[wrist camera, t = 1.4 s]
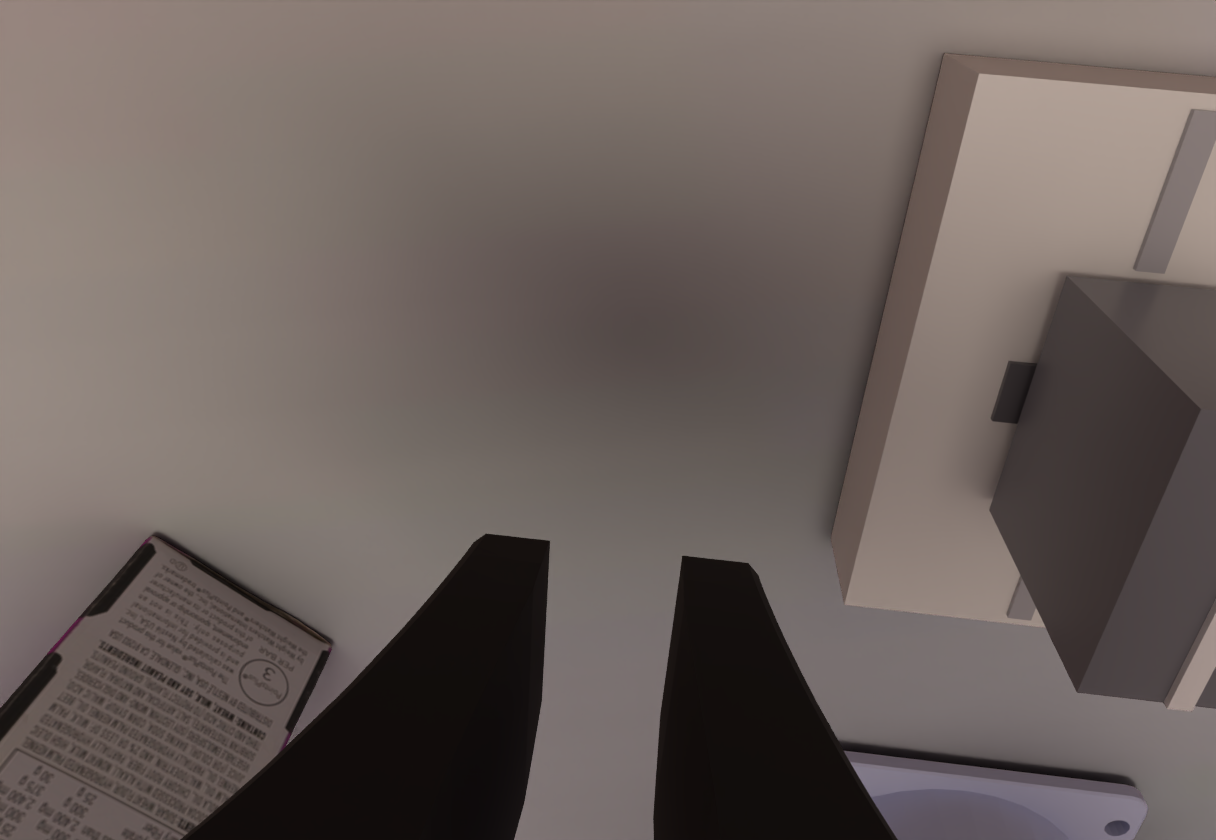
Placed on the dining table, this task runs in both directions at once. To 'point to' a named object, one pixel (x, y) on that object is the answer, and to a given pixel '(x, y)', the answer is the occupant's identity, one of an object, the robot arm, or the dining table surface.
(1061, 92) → the console
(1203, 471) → the block
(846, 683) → the dining table surface
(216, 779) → the candy bar box
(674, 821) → the robot arm
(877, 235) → the dining table surface
